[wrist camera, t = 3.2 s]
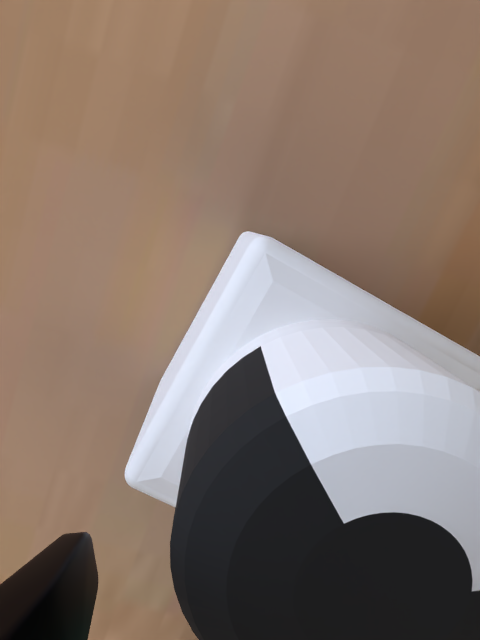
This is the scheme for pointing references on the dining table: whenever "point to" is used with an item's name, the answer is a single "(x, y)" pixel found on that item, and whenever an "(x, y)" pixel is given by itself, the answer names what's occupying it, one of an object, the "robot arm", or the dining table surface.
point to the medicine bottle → (316, 461)
